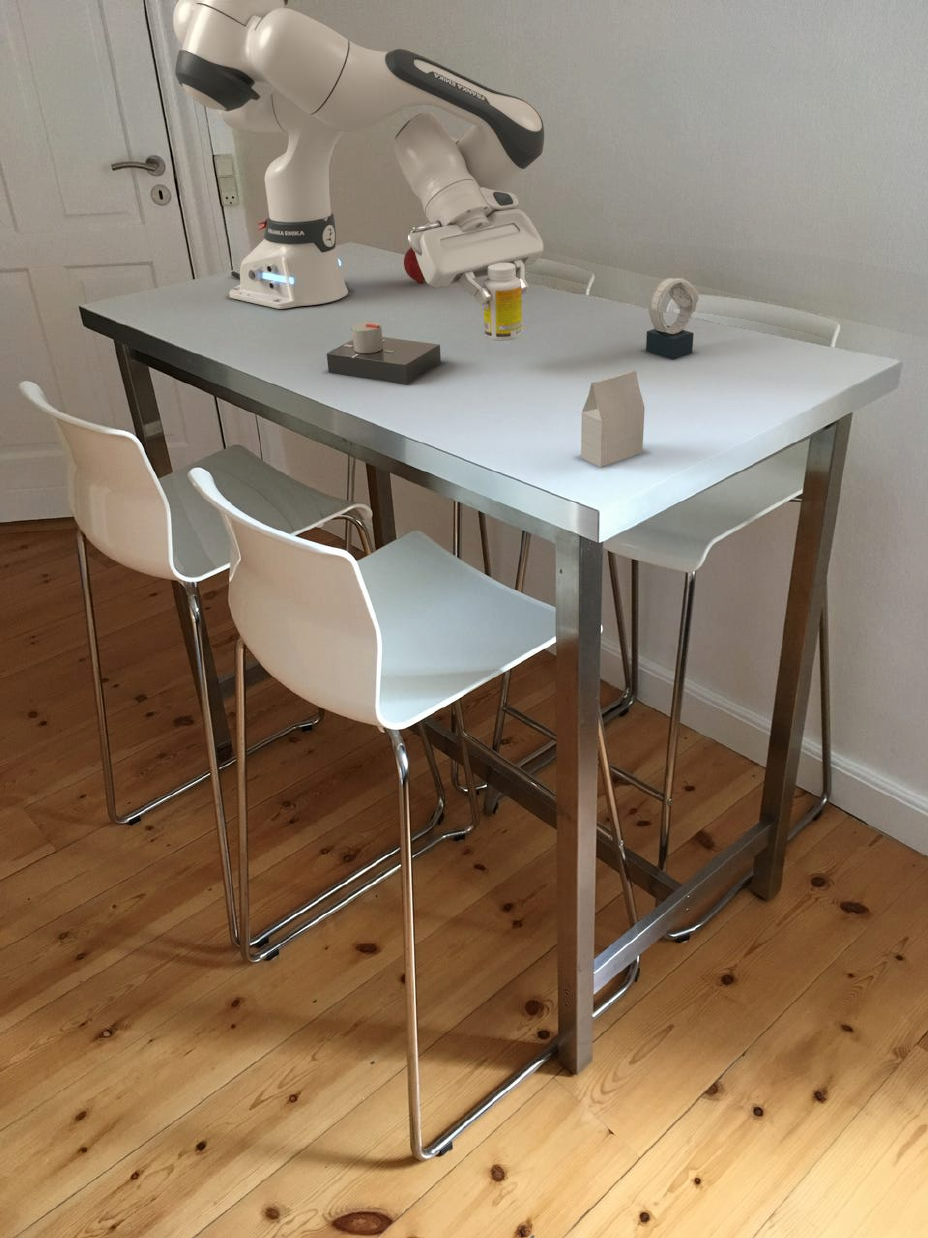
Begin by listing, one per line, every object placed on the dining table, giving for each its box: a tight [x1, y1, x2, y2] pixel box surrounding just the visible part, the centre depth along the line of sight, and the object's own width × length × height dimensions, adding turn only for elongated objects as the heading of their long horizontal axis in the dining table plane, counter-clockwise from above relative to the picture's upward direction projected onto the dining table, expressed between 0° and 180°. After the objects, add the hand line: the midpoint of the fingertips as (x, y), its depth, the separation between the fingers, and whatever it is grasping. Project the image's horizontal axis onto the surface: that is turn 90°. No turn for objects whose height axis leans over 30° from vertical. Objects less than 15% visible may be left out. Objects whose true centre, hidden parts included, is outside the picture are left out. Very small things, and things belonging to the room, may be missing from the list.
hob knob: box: [351, 321, 383, 353], centre depth 163 cm, size 4×4×4 cm
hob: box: [326, 336, 442, 385], centre depth 164 cm, size 14×10×3 cm
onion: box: [403, 246, 426, 284], centre depth 204 cm, size 6×6×8 cm
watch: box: [645, 277, 700, 360], centre depth 163 cm, size 6×8×11 cm
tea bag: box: [580, 370, 646, 468], centre depth 131 cm, size 4×7×10 cm, turn 124°
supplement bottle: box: [482, 263, 523, 342], centre depth 158 cm, size 6×6×10 cm
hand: (505, 297), depth 157 cm, fingers closed on supplement bottle, 5 cm apart
